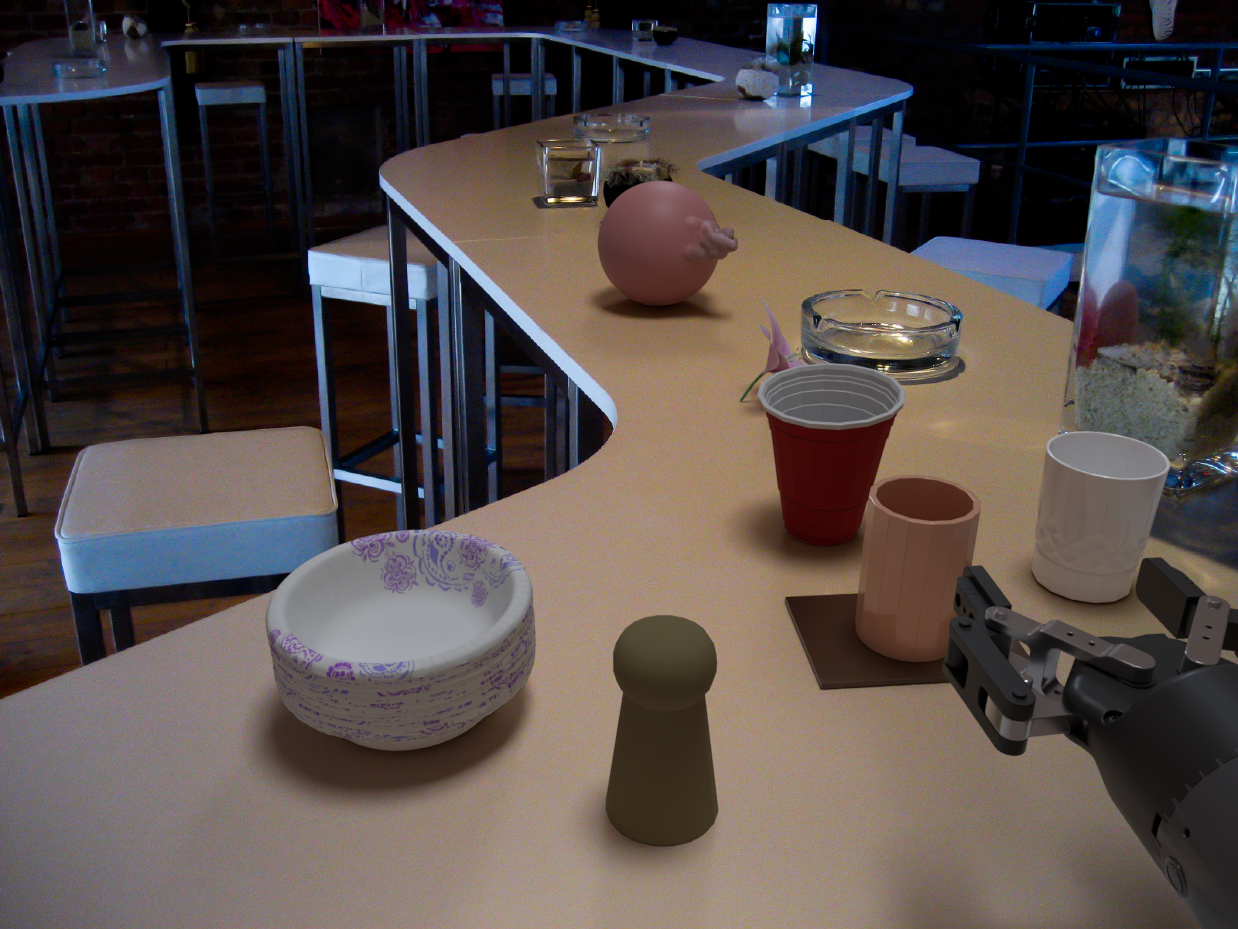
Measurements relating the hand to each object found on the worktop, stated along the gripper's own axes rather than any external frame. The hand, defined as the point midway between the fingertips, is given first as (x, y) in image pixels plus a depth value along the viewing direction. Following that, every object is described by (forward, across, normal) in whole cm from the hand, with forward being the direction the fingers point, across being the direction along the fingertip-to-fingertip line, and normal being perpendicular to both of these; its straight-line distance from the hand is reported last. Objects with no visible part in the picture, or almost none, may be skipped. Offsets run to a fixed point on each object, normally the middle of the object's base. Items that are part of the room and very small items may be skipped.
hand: (1056, 578), depth 51 cm
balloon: (+91, +6, +15) cm, 92 cm away
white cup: (+23, -15, +15) cm, 31 cm away
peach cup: (+17, 0, +14) cm, 22 cm away
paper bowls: (+13, +32, +15) cm, 38 cm away
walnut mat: (+17, 0, +15) cm, 22 cm away
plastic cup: (+32, +2, +15) cm, 35 cm away
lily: (+58, -1, +15) cm, 60 cm away
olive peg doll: (+3, +18, +15) cm, 24 cm away
